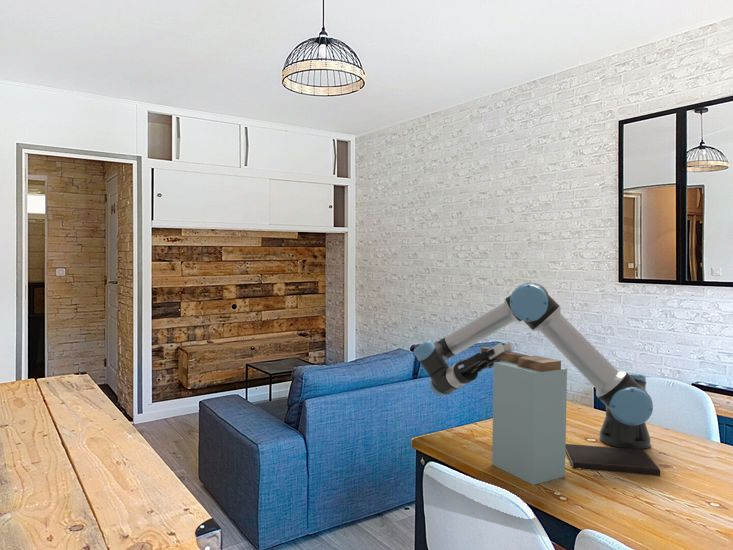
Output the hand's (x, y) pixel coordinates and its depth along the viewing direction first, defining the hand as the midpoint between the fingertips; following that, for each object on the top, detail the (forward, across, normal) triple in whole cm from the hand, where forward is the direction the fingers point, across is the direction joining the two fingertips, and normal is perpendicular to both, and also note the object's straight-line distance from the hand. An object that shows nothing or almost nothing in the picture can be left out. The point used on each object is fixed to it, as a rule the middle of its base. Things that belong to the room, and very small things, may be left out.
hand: (506, 346), depth 158 cm
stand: (-9, 0, -34) cm, 35 cm away
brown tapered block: (+1, 0, -5) cm, 6 cm away
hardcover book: (-4, -27, -38) cm, 47 cm away
